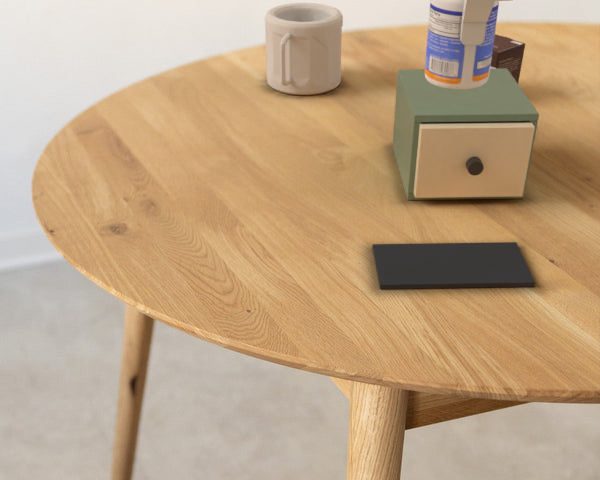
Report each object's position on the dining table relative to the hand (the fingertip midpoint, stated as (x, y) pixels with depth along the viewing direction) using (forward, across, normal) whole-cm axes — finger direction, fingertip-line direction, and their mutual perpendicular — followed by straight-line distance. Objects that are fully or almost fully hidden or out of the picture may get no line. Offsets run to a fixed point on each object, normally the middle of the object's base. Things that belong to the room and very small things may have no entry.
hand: (462, 29), depth 64 cm
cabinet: (+21, +17, -5) cm, 27 cm away
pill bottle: (+4, 0, 0) cm, 4 cm away
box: (+21, +41, -14) cm, 48 cm away
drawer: (+20, +14, -5) cm, 25 cm away
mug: (+21, +45, +12) cm, 51 cm away
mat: (+21, -3, -1) cm, 21 cm away
